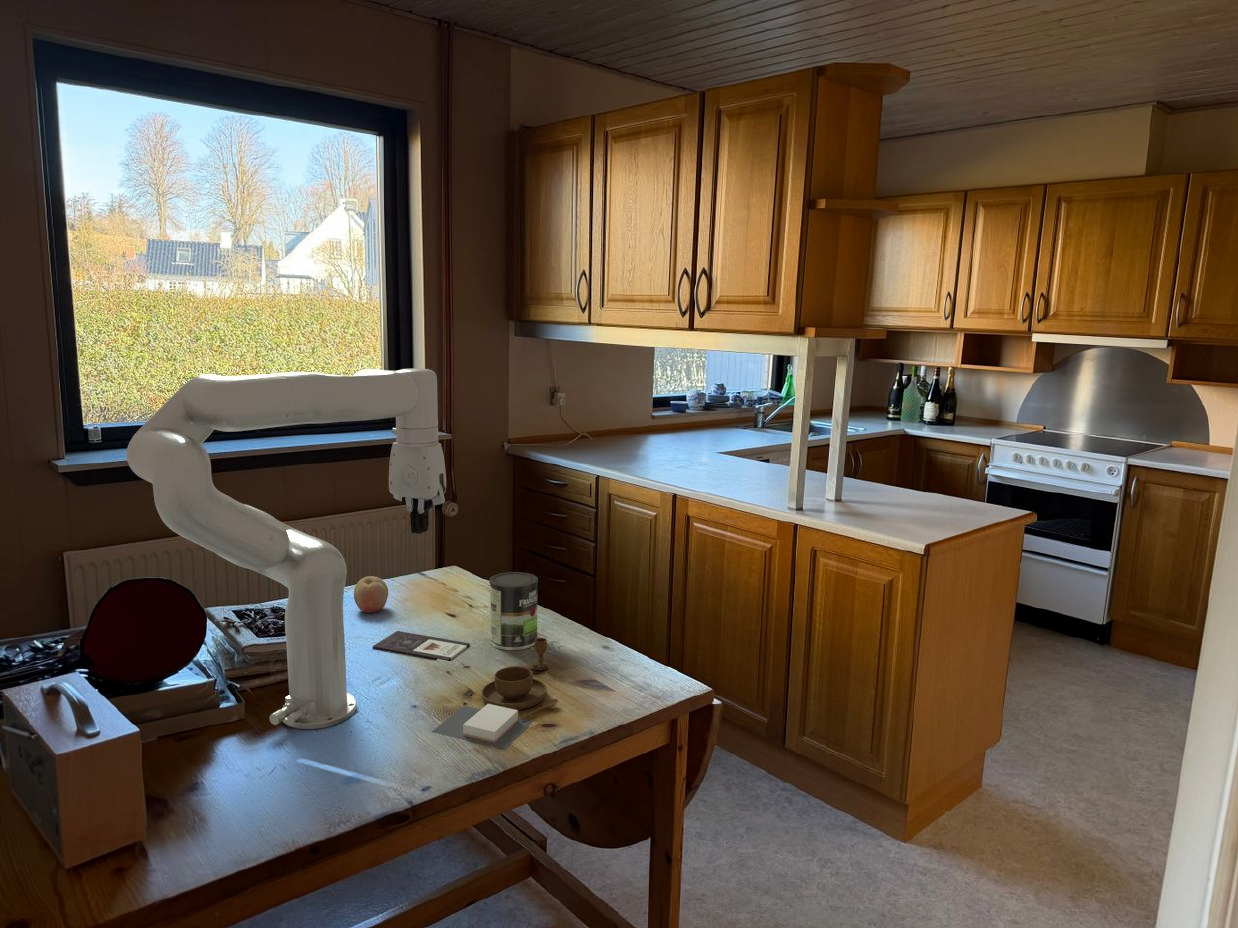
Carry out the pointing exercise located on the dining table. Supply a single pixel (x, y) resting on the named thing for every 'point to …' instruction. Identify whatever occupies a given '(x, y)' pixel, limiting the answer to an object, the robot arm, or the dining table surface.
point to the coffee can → (513, 610)
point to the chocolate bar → (421, 646)
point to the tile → (490, 723)
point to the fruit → (371, 594)
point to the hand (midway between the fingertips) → (419, 531)
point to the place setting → (519, 686)
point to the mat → (455, 729)
